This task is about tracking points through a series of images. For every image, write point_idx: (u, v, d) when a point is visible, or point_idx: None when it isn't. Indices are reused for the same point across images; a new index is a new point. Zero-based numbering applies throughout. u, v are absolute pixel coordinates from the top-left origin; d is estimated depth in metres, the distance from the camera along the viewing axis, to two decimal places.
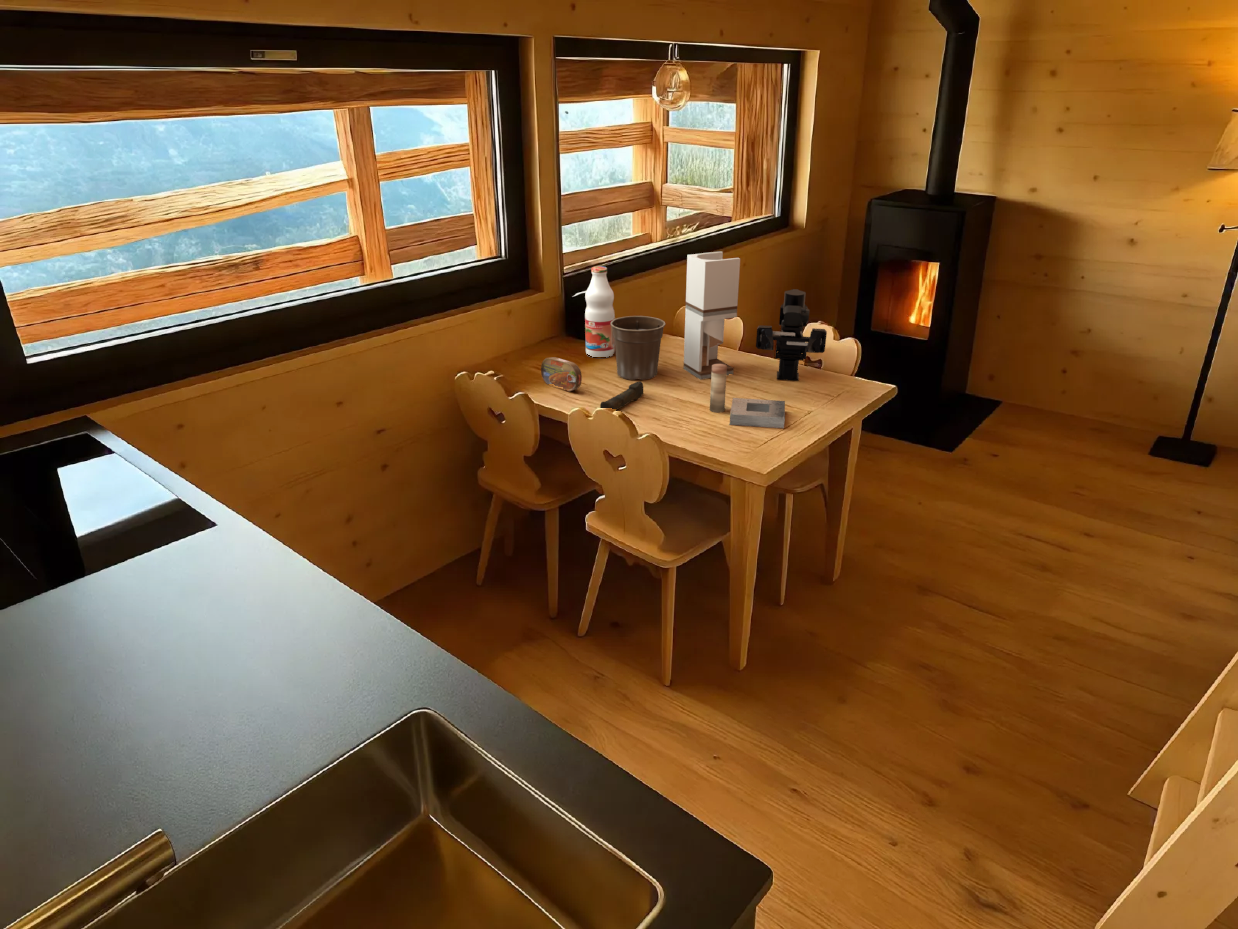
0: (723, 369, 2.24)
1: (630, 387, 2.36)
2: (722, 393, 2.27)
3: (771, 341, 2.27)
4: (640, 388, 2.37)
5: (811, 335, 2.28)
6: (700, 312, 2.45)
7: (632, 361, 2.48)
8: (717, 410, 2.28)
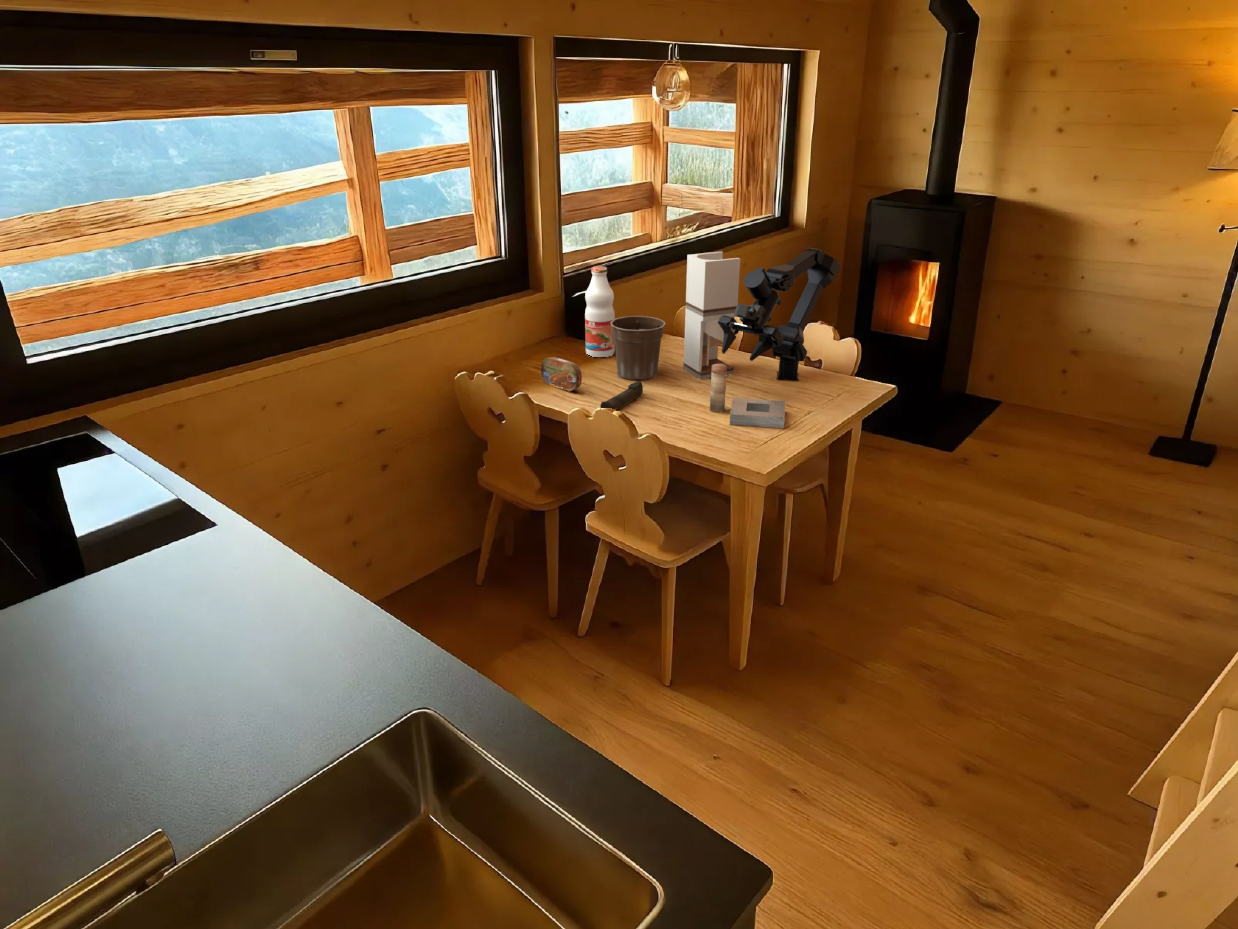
0: (723, 369, 2.24)
1: (630, 387, 2.36)
2: (722, 393, 2.27)
3: (724, 343, 2.33)
4: (640, 388, 2.38)
5: (759, 337, 2.26)
6: (700, 312, 2.45)
7: (632, 361, 2.48)
8: (717, 410, 2.28)
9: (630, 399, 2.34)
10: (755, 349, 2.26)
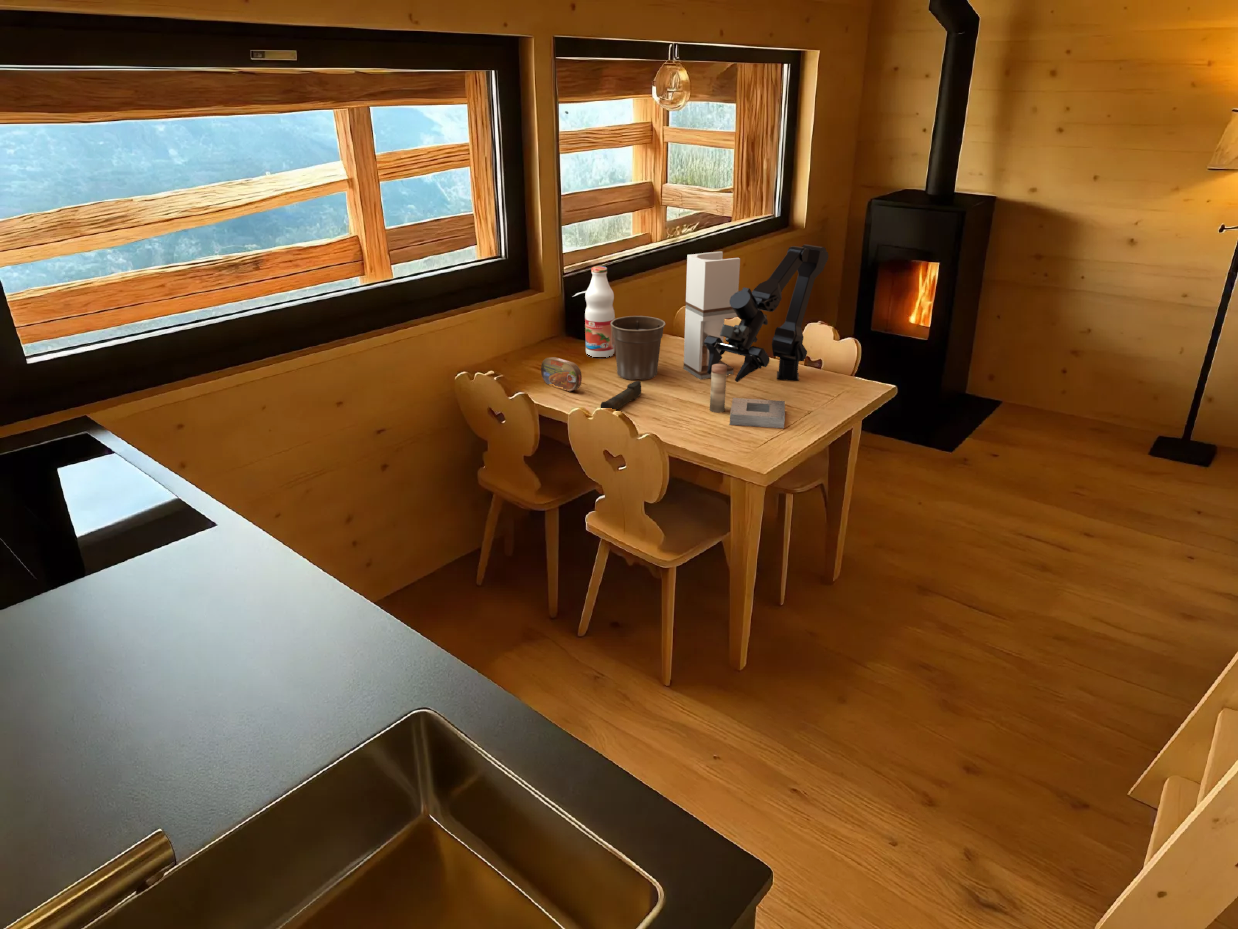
0: (723, 369, 2.24)
1: (629, 387, 2.36)
2: (722, 393, 2.27)
3: (709, 363, 2.30)
4: (638, 387, 2.38)
5: (745, 358, 2.24)
6: (700, 312, 2.45)
7: (632, 361, 2.48)
8: (717, 410, 2.28)
9: (629, 399, 2.34)
10: (741, 370, 2.24)
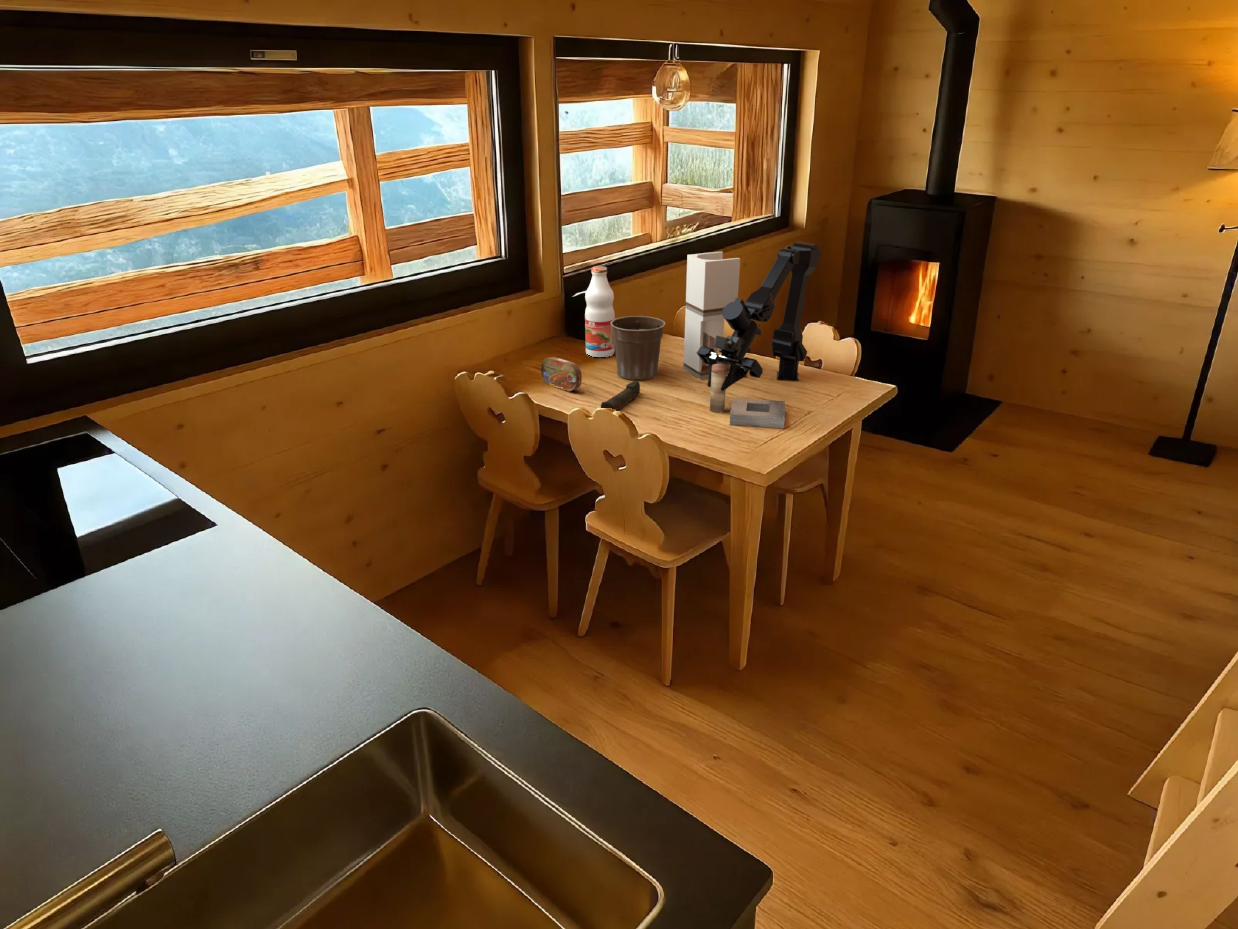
0: (723, 369, 2.24)
1: (628, 387, 2.36)
2: (722, 393, 2.27)
3: (710, 376, 2.28)
4: (637, 387, 2.38)
5: (730, 367, 2.24)
6: (700, 312, 2.45)
7: (632, 361, 2.48)
8: (717, 410, 2.28)
9: (629, 399, 2.34)
10: (726, 379, 2.25)
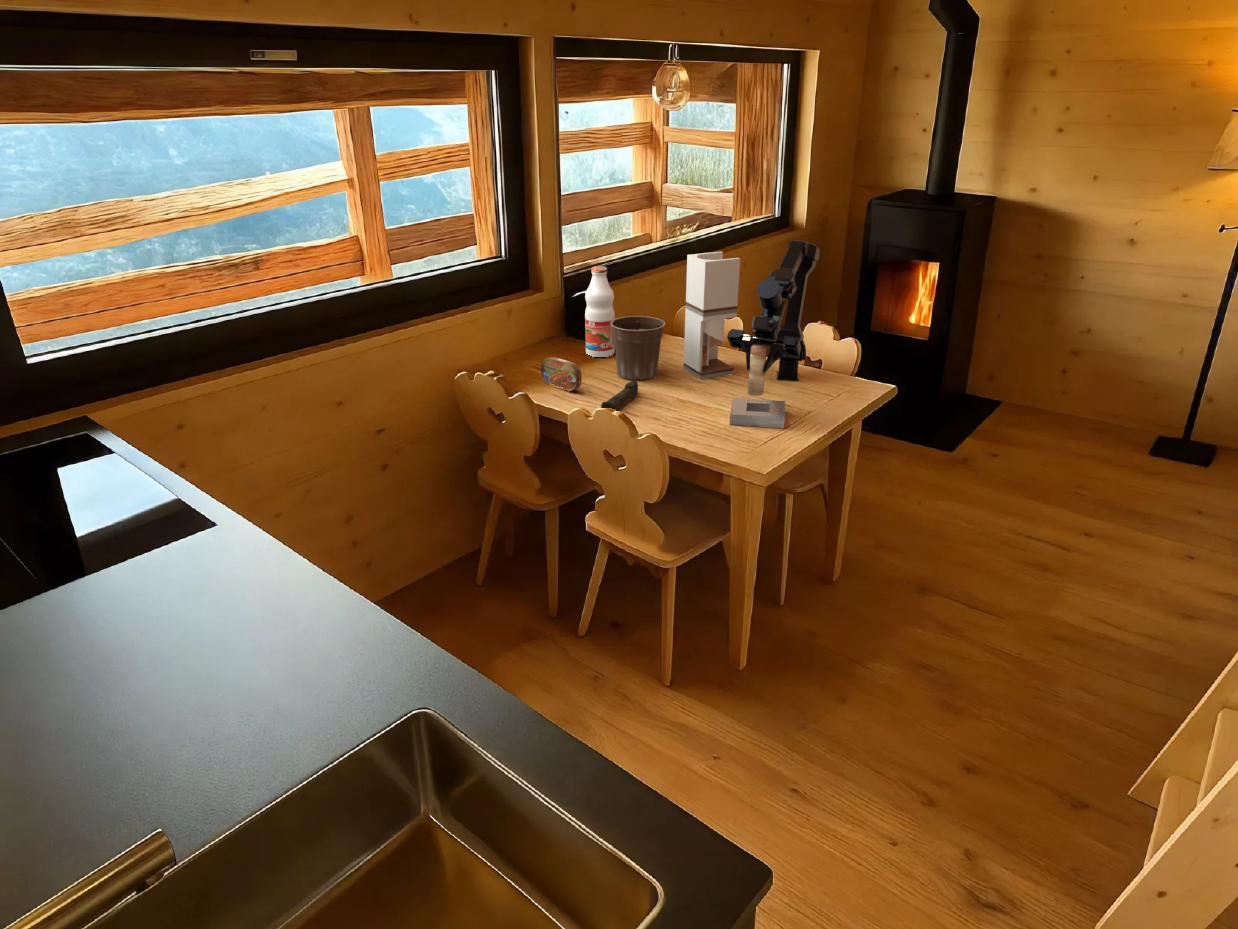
0: (764, 350, 2.16)
1: (627, 386, 2.36)
2: (763, 375, 2.19)
3: (747, 359, 2.19)
4: (636, 387, 2.38)
5: (771, 348, 2.17)
6: (700, 312, 2.45)
7: (632, 361, 2.48)
8: (758, 393, 2.21)
9: (628, 398, 2.34)
10: (768, 360, 2.17)
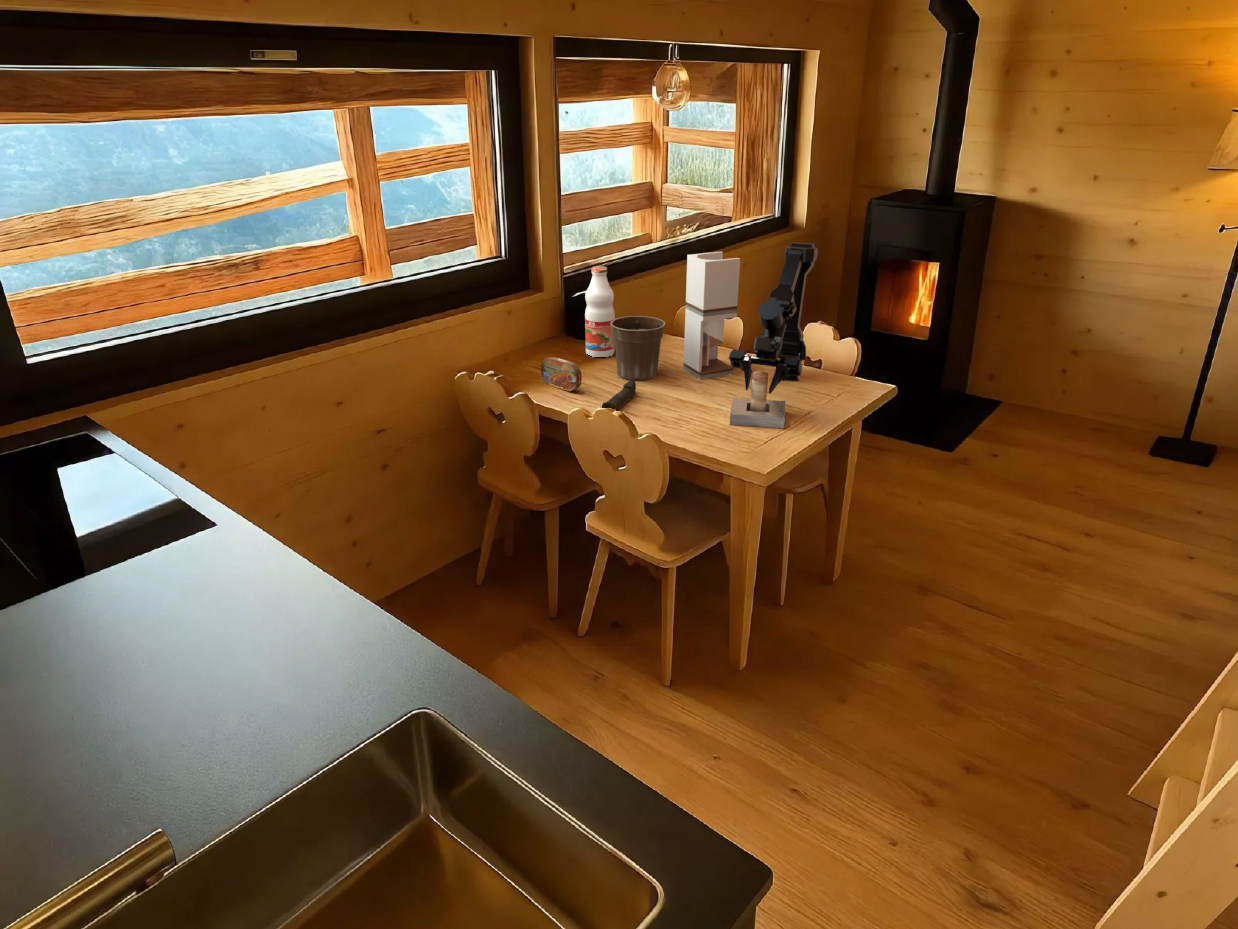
0: (766, 376, 2.19)
1: (625, 386, 2.36)
2: (765, 400, 2.22)
3: (746, 379, 2.22)
4: (634, 387, 2.38)
5: (776, 369, 2.19)
6: (700, 312, 2.45)
7: (632, 361, 2.48)
8: None
9: (627, 398, 2.34)
10: (773, 381, 2.19)
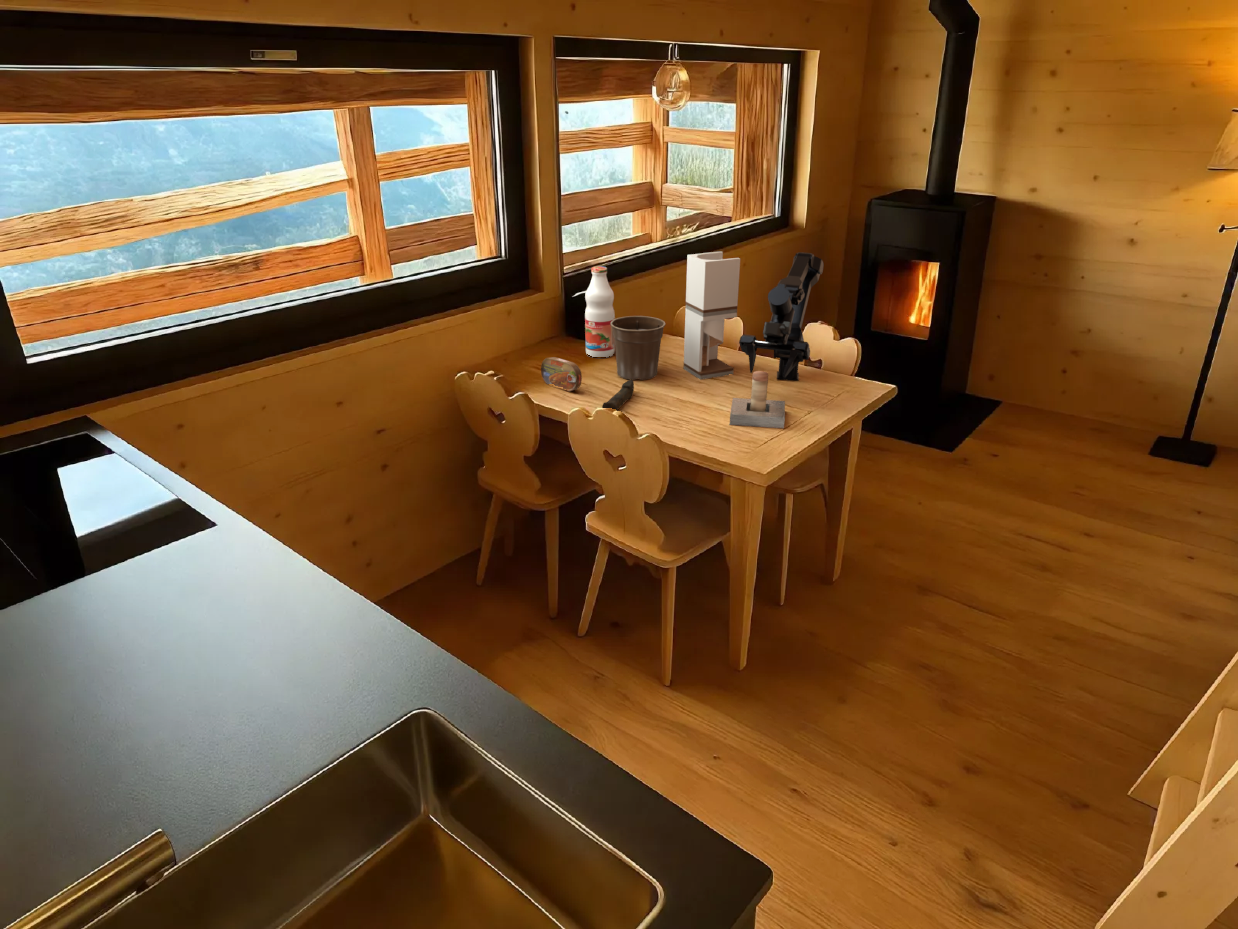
0: (766, 376, 2.19)
1: (624, 386, 2.36)
2: (765, 400, 2.22)
3: (750, 362, 2.29)
4: (632, 386, 2.39)
5: (790, 353, 2.26)
6: (700, 312, 2.45)
7: (632, 361, 2.48)
8: None
9: (626, 398, 2.35)
10: (788, 366, 2.26)
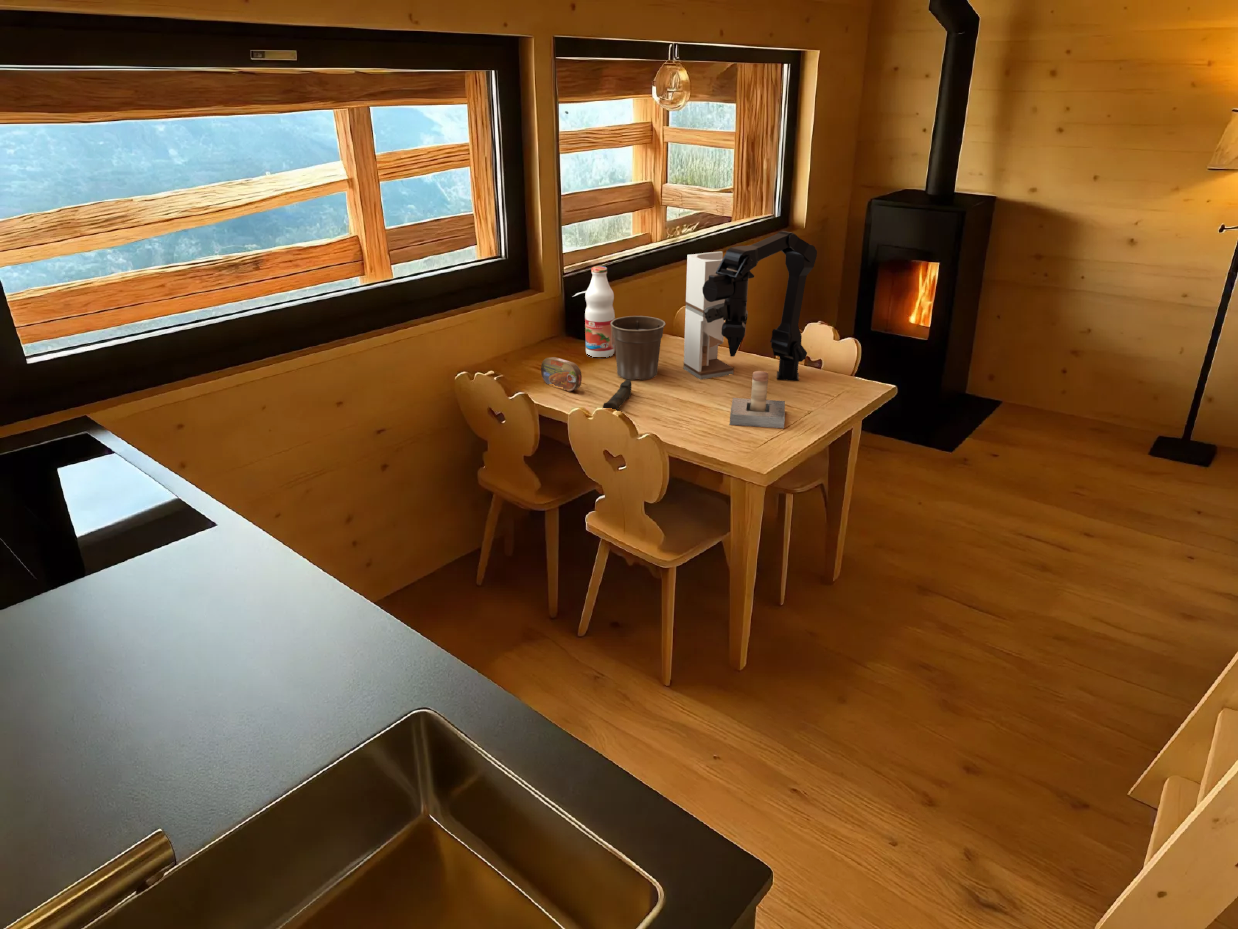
0: (766, 376, 2.19)
1: (622, 386, 2.36)
2: (765, 400, 2.22)
3: None
4: (630, 386, 2.39)
5: None
6: (700, 312, 2.45)
7: (632, 361, 2.48)
8: None
9: (625, 398, 2.35)
10: None
